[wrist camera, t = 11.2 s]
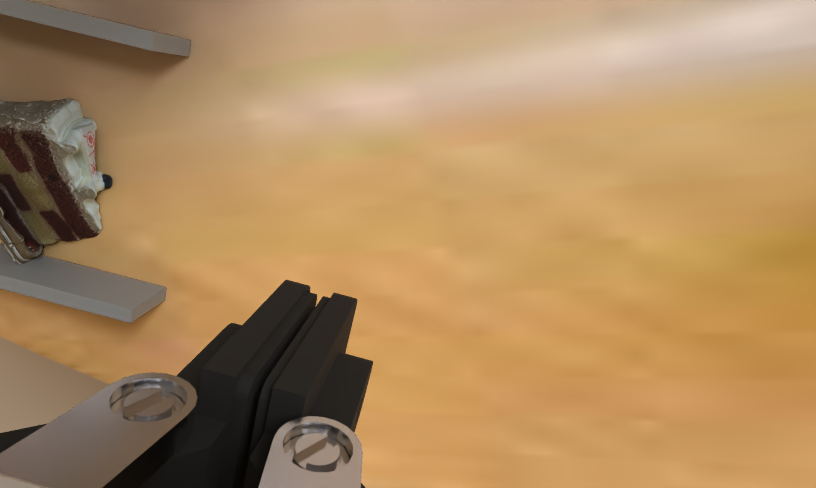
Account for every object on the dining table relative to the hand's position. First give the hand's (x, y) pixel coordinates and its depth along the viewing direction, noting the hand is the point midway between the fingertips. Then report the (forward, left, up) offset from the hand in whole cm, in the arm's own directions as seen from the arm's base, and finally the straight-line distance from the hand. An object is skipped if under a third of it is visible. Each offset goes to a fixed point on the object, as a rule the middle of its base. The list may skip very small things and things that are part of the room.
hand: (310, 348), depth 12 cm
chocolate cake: (+5, -23, -23) cm, 33 cm away
